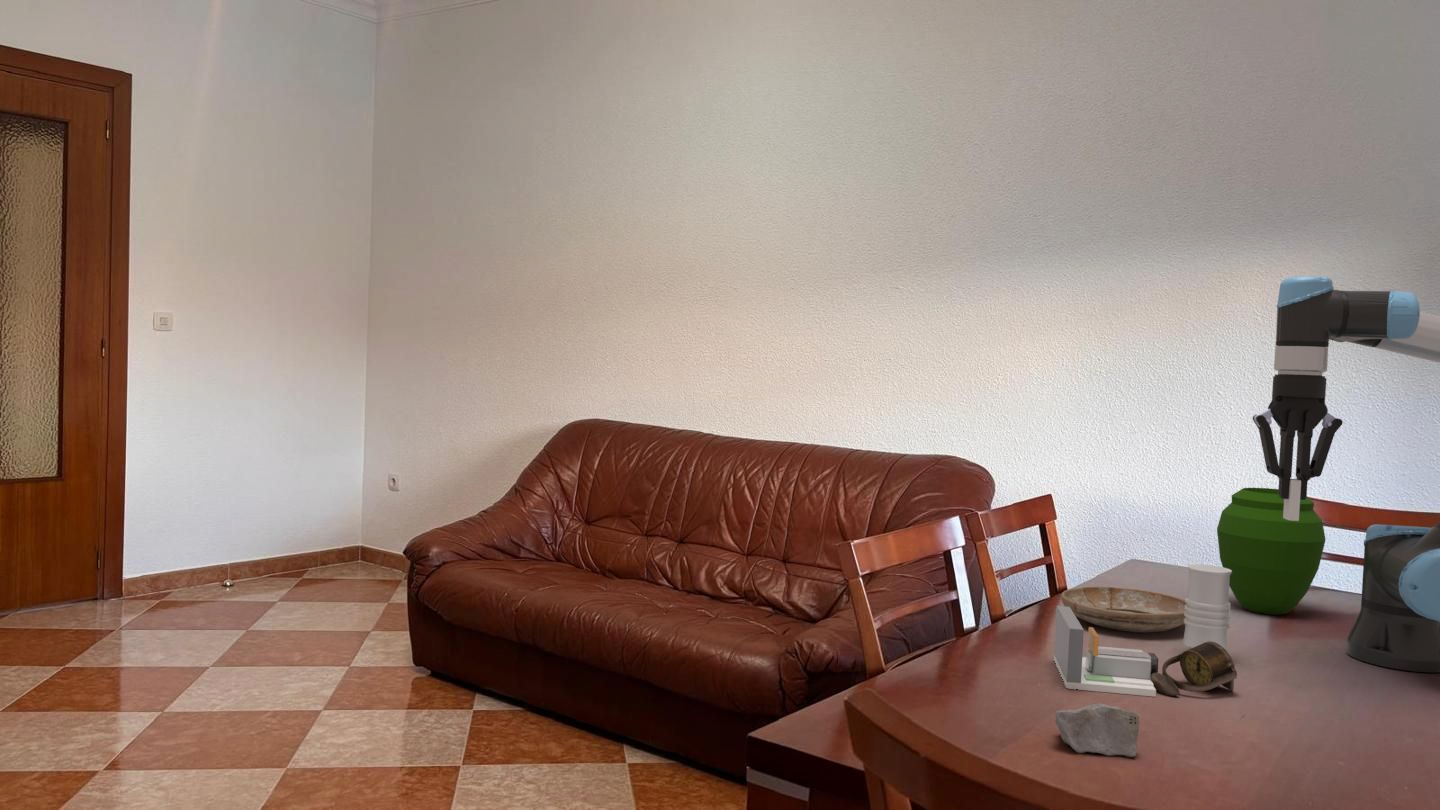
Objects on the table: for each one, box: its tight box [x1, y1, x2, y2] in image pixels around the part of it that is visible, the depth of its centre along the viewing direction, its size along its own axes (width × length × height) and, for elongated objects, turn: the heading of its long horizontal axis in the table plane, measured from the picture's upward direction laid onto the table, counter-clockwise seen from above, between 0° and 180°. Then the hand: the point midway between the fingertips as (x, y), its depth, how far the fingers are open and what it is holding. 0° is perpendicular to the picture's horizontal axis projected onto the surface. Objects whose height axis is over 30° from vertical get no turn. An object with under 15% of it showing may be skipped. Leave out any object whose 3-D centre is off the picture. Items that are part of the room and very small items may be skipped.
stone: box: [1054, 702, 1140, 758], centre depth 132 cm, size 8×10×6 cm
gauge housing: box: [1053, 605, 1157, 698], centre depth 161 cm, size 12×15×9 cm
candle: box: [1182, 563, 1232, 651], centre depth 175 cm, size 7×7×15 cm
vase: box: [1216, 487, 1326, 616], centre depth 212 cm, size 20×20×24 cm
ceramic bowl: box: [1060, 586, 1187, 633], centre depth 197 cm, size 23×24×5 cm
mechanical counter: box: [1150, 641, 1238, 697], centre depth 157 cm, size 7×13×10 cm
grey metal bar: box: [1085, 626, 1159, 677], centre depth 159 cm, size 10×6×6 cm, turn 79°
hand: (1290, 519), depth 169 cm, fingers closed
